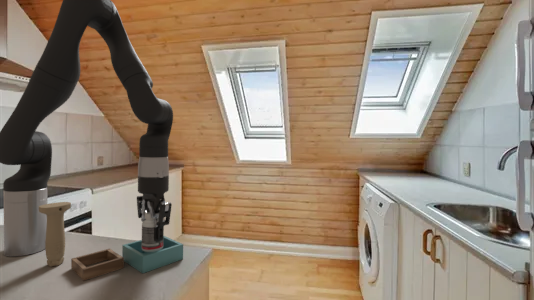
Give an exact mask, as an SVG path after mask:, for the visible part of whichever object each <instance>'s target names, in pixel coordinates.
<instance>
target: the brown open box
mask: <svg viewBox="0 0 534 300" xmlns="http://www.w3.org/2000/svg"><path fill="white" fill-rule="evenodd" d="M70 259H71V260H70V262H71V263H70V264H71V270H72V271H73V272H74V273H75V274H76V276H78V277H79V278H80V279H81V280H82V281H83V282H84V281H87V280H90V279H94V278H97V277H101V276H103V275H106V274H110V273H112V272H115V271H119V270H121V269H124V266H125V261H124V258H123V257H122V255H120V254H118V253H117V252H116V251H114V250H112V249H111V248H107V249H102V250H99V251H95V252H92V253H87V254H82V255H80V256H76V257H72V258H70ZM96 263H97V264H96ZM93 264H94V265H93Z"/></svg>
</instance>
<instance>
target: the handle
mask: <svg viewBox="0 0 534 300" xmlns="http://www.w3.org/2000/svg"><path fill="white" fill-rule="evenodd" d="M71 207H72V203H71V202H68V201H60V202H52V203H47V204H45V205H41V206H39V212H41V213H43V214H46V215H47V226H46V240H45V245H46V246H45V249H44V250H45V256H46V264H47V266H49V267H55V266H57V267H58V266H60V265H61V264H63V263H64V260H65V257H64V256H65V251H66V233H65V217H64V215H65V213H66V212H67V211H68V210H70V209H71Z"/></svg>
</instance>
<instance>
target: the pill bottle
mask: <svg viewBox="0 0 534 300" xmlns="http://www.w3.org/2000/svg"><path fill="white" fill-rule="evenodd" d="M155 214H159V213H155ZM145 219H146V220H144V221H143V222H142V221H141V240H142V250H143V251H144V252H155V251H159V250H161V249H162V248H163V240H161V241H158V242H156V241H154V227H155V226H154V221H153V219H152V218H151V215H150V212H145ZM158 219H159V217H158V218H157V220H158ZM163 236H165V234H164V231H163Z"/></svg>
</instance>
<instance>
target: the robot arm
mask: <svg viewBox="0 0 534 300" xmlns="http://www.w3.org/2000/svg"><path fill="white" fill-rule="evenodd" d="M87 27H90V28H91V29H93V30H95V31H96V32H97V33H98V34H99V35H100V37H101V38H102V39H103V41H104V42H105V44H106V45H107V47H108V51H109V54H110V62H111V65H112V68H113V70H114V73H115V74H116V76H117V78H118V80H119V82H120V83H121V85H122V86H123V88H124V90H125V91H126V94H127V98H128V102H129V105H130V108H131V110H132V113H133V114H134V116H135V117H136V118H137V119H138V121H140V122H142V123H143V124H146V125H147V129H146V132H145V134H142V135H141V136H140V138H139V144H138V145H139V147H138V149H139V150H138V152H139V155H138V156H139V158H138V164H137V165H138V166H137V193H139V194H142V195H138V196H137V195H136V207H137V217H138V219H140V220H141V223H142V222H143V221H144V220H146V219H145V212H150V215H151V218H152V219H153V221H154V226H155V227H154V241H156V242H158V241H161V240H163V231H164V229H165V226H168V225H169V224H170V222H171V221H170V219H171V214H172V213H171V212H172V202H169V201H168V202H166V199H165V193H167V192H168V191H169V190H170V189H169V188H170V186H169V185H170V183H169V181H170V180H169V179H170V163H169V139H170V135H171V131H172V126H173V121H174V111H173V107H172V106H171V104H170V102H168V101H167V100H165V99H162V98H159V97H157V95H155V93H154V92H153V87H154V82H153V80H152V77H151V76H150V74H149V72H148V71H147V68H146V67H145V66H144V65H143V62H142V61H141V58H139V56H138V54H137V52H136V51H135V48H134V46H133V45H132V43H131V41H130V39H129V36H128V33H127V31H126V29H125V27H124V24H123V21H122V18H121V16H120V14H119V11H118V9H117V7H116V5H115V3H114V2H113V1H112V0H62V2H61V4H60V8H59V11H58V14H57V17H56V21H55V23H54V27H53V29H52V31H51V34H50V36H49V38H48V41H47V43H46V45H45V48H44V50H43V52H42V54H41V56H40V58H39V60H38V61H37V64H36V65H35V67H34V69H33V72H32V74H31V76H30V78H29V80H28V83H27V84H26V85H27V86H26V88H25V89H24V91H23V92H22V93H23V94H22V95H21V97H20V99H19V101H18V102H17V104H16V106H15V108H14V109H13V111H12V112H11V115H10V116H9V118H8V119H7V121H6V122H5V124H4V125H3V127H2V128H1V129H0V164H2V165H4V166H5V165H6V166H19V170H17V172H16V173H14V174H13V175H11V176H9V177H8V178H5V180H4V181H3V183H2V185H3V188H2V189H3V255H4V256H5V257H20V256H21V257H22V256H28V255H33V254H36V253H39V252H41V251H43V250H45V246H46V245H45V240H46V226H47V215H46V214H43V213H41V212H39V206H41V205H45V204H48V182H49V180H50V178H51V173H52V161H53V159H52V158H53V146H52V141H51V140H50V137H49V136H48V135H47V134H46V133H44V132H42V131H37V129H38V127H39V126H40V125H41V123H42V122H43V121H44V120H45V119H47V117H49V116H50V115H51V114H52V113H54V112H55V111H56V110H57V109H59V108H60V107H61V106H63V105H64V104H65V103H67V101H68V100H69V99H70V97H72V94H73V92H74V91H75V89H76V87H77V84H78V82H79V81H80V77H81V59H80V57H81V56H80V46H81V45H80V44H81V40H82V37H83V36H84V33H85V31H86V30H87ZM155 213H159V214H155ZM158 217H159V219H158V220H157V218H158Z"/></svg>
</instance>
